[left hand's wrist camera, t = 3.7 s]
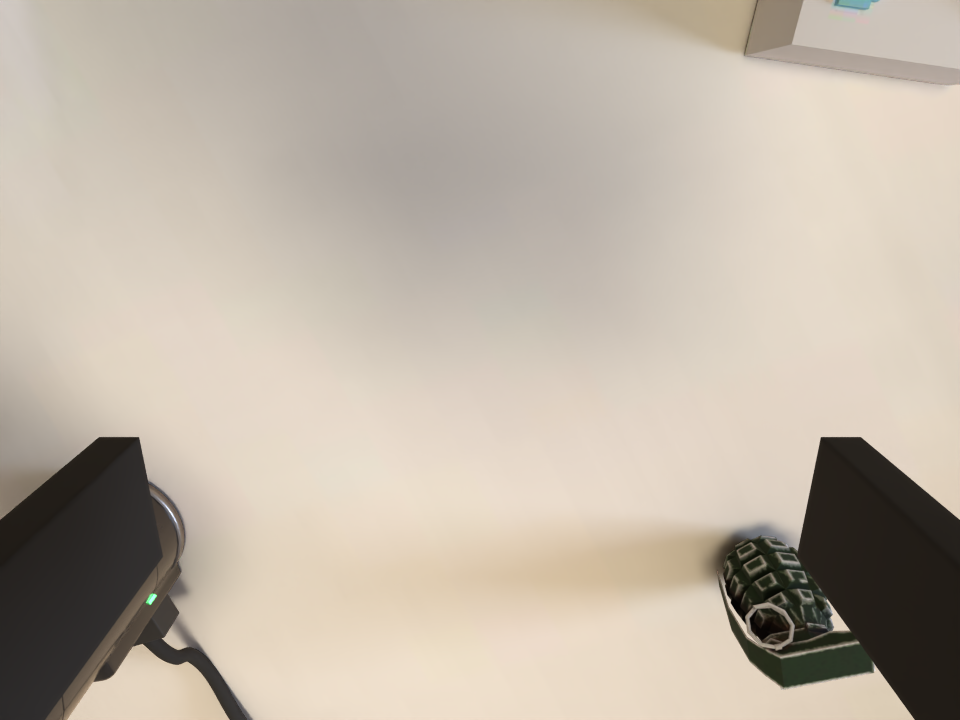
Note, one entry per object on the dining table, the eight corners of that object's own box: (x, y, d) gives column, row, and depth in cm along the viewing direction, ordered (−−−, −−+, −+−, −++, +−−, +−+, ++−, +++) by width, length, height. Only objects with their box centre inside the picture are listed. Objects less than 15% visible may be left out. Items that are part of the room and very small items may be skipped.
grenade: (792, 513, 45) (873, 616, 36) (799, 579, 47) (878, 692, 38) (698, 533, 46) (754, 640, 37) (709, 597, 48) (764, 713, 39)
